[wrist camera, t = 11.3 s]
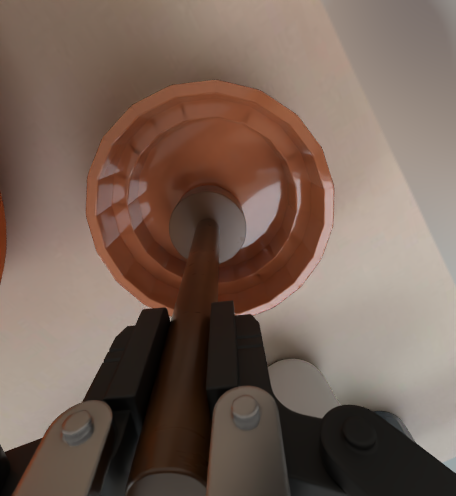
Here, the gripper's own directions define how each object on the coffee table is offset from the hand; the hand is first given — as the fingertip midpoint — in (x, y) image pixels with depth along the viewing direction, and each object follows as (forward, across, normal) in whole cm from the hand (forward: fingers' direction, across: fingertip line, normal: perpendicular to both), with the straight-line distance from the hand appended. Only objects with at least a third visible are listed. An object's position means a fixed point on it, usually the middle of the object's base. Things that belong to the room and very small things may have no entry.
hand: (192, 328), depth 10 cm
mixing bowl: (+14, 0, -1) cm, 14 cm away
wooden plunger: (+13, 0, 0) cm, 13 cm away
